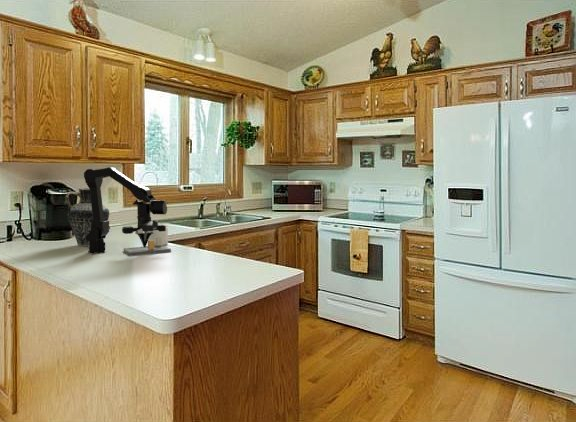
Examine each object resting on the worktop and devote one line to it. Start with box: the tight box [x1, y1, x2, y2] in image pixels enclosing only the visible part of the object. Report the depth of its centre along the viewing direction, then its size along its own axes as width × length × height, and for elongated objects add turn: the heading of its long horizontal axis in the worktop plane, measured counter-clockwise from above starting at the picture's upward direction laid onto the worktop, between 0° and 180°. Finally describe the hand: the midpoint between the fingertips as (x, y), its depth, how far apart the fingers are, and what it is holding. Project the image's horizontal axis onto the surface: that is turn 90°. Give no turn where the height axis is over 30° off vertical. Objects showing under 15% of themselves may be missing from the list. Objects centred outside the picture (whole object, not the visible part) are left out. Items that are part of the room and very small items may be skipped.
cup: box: [148, 225, 169, 246], centre depth 212 cm, size 10×10×10 cm
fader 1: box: [147, 240, 154, 249], centre depth 190 cm, size 2×2×4 cm
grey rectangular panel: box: [123, 245, 172, 257], centre depth 193 cm, size 19×13×2 cm
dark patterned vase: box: [64, 187, 110, 247], centre depth 208 cm, size 21×19×30 cm
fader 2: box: [156, 237, 162, 246], centre depth 200 cm, size 2×2×4 cm
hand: (144, 247), depth 189 cm, fingers closed
